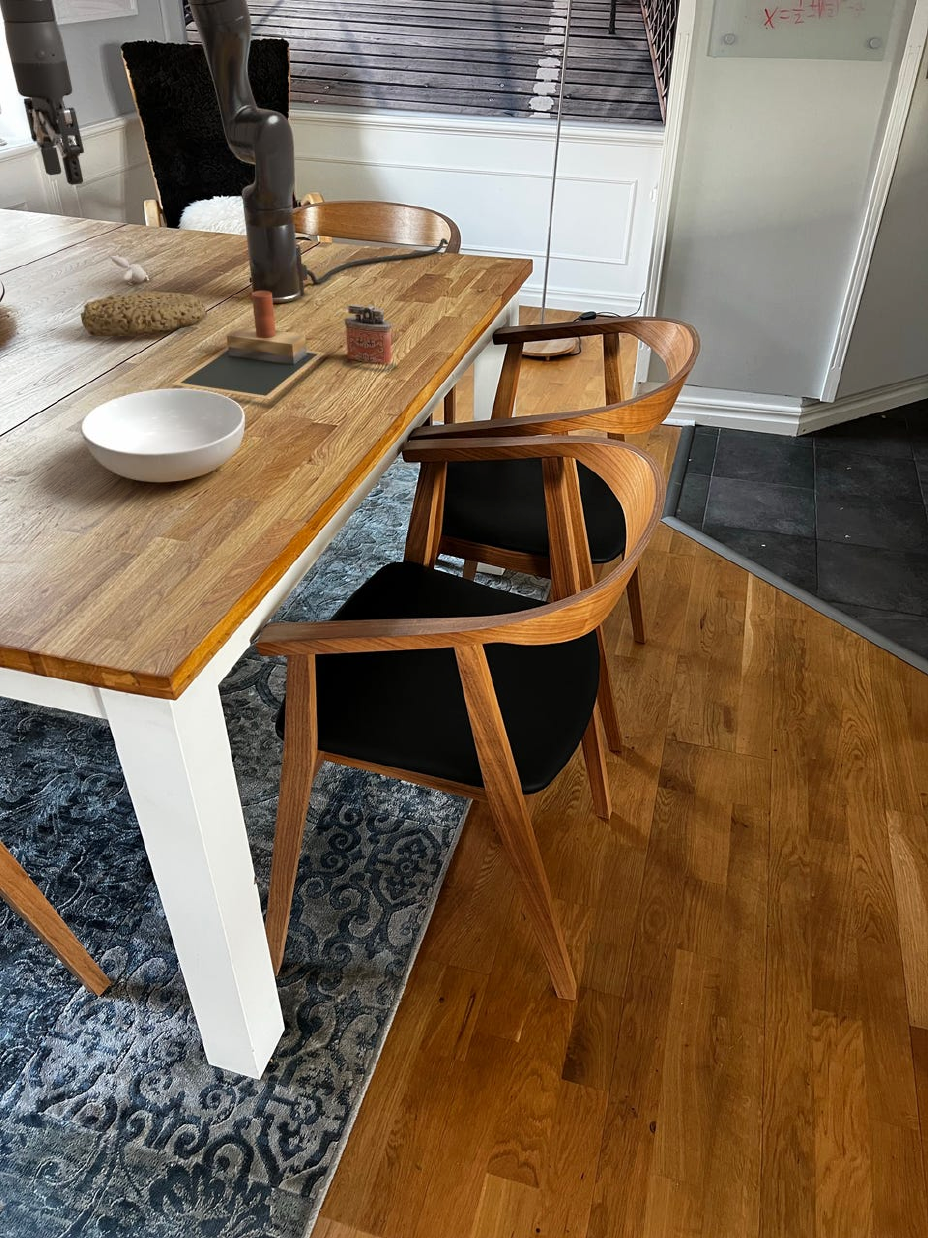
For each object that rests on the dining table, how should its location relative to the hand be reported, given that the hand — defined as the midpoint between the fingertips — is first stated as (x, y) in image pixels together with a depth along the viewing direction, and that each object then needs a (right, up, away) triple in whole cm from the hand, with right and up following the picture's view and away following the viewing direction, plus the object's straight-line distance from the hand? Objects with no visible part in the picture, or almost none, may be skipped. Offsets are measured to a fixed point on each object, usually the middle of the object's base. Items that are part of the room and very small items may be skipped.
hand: (64, 178), depth 146 cm
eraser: (+29, -23, +14) cm, 39 cm away
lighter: (+46, -25, +14) cm, 54 cm away
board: (+27, -28, +10) cm, 40 cm away
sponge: (+5, -16, +25) cm, 30 cm away
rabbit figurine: (-6, 0, +48) cm, 48 cm away
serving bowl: (+22, -47, -17) cm, 54 cm away
